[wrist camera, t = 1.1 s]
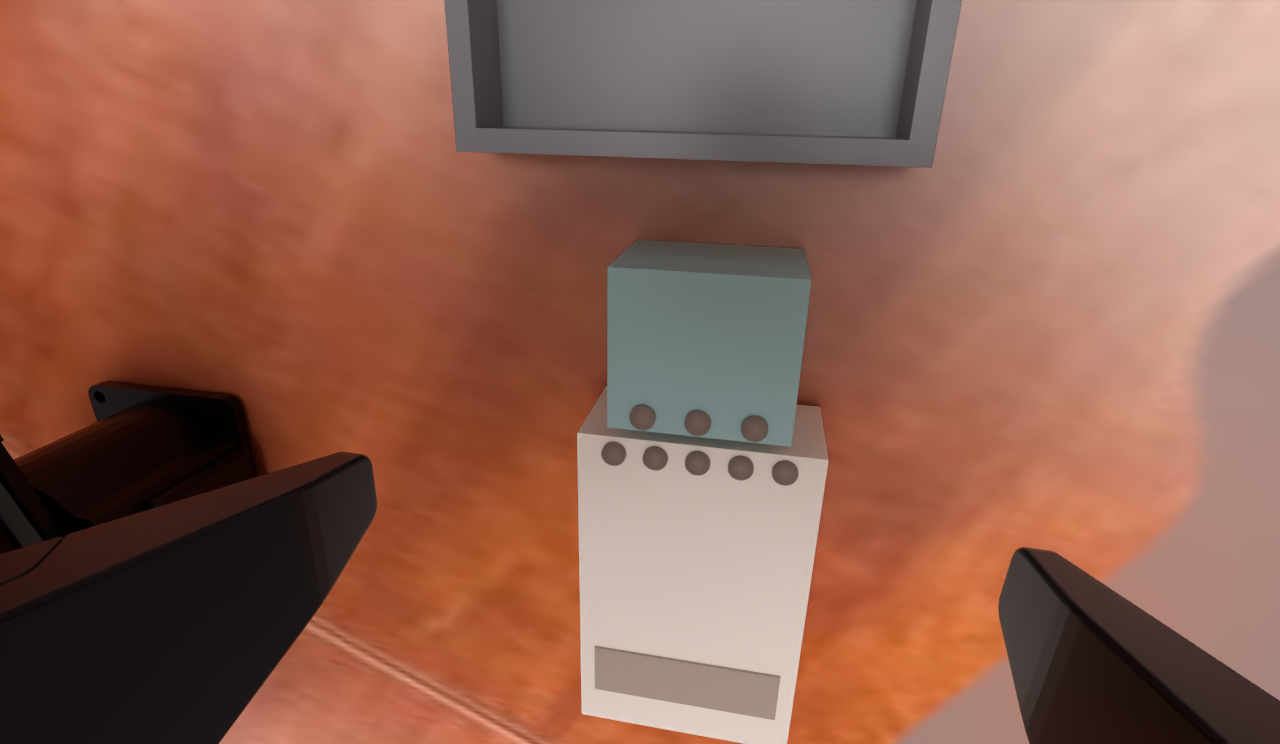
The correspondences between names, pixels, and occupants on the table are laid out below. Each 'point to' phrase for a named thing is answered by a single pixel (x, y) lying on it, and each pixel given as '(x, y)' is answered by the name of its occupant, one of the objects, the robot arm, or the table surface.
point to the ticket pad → (696, 575)
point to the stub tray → (703, 78)
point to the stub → (706, 339)
